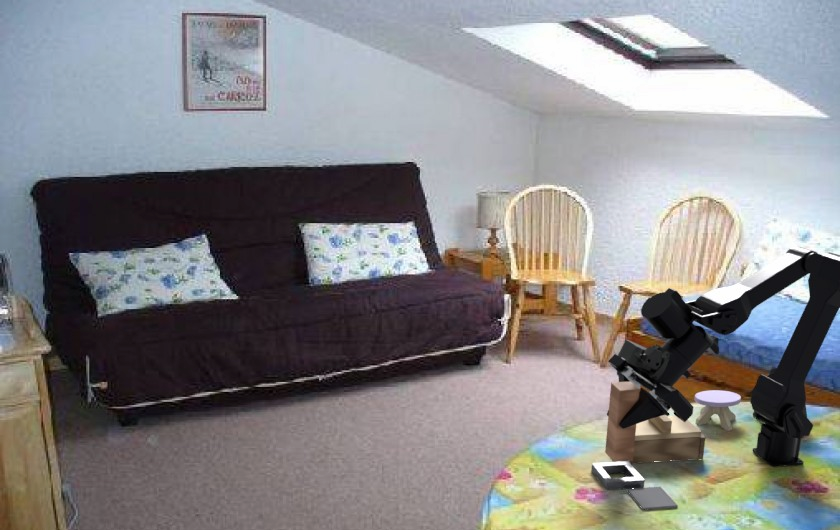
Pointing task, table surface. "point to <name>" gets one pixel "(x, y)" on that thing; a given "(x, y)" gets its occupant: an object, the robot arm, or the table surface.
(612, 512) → the table surface
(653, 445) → the tan boxy piece
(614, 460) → the brown rectangular block
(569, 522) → the table surface
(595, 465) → the socket
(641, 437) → the lid
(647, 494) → the felt pad
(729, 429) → the toy table
